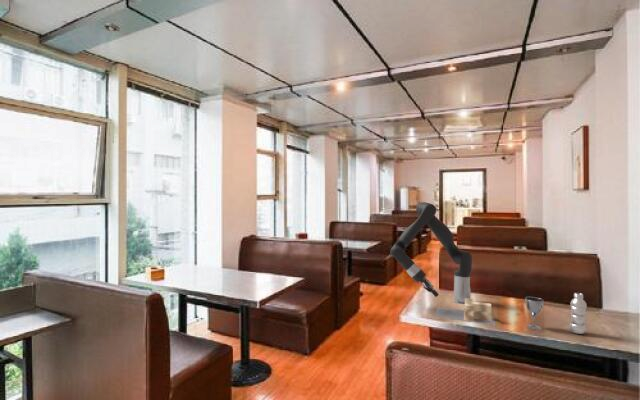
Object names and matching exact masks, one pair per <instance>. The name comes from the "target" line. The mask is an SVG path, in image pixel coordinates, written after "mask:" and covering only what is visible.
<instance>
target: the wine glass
mask: <svg viewBox="0 0 640 400" xmlns="http://www.w3.org/2000/svg"><path fill="white" fill-rule="evenodd" d="M524 301H525V307H526V310H527V311H528V312H529V314H530V315H531V317H532V324H526V325H525V327H526V328H527V329H529V330H534V331H541V330H542V327H540V326H538V325H536V323H535V322H536V317H537V316H538V315H539V314H541V312H542V310H543V308H544V299H542V298H540V297H536V296H535V297H534V296H526V297H525V299H524Z"/></svg>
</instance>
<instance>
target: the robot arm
mask: <svg viewBox="0 0 640 400" xmlns="http://www.w3.org/2000/svg"><path fill="white" fill-rule="evenodd" d="M415 210H416V213H417V215H418V218H417V219H416V220H415V221H414V222H413V223H411V224H410V225H409V226H408V227H406V228H405V229H404V230H403V231H402V233H401V234H400V236H399V238H398V240H397V241H395V242H394V244H393V246H392V247H391V248H390V252H389V254H390V255H391V257H393V258H394V259H395V260H396V261H397V262H398V263H399V265H400V266H401V267H402V268H403V269H404V270H405V271H406V273H407V274H408V275H409V276H410V277H411V279H412V280H413V281H414V282H415V283H416V284H418V283H421V285H422V287H423V289H425V291H427V292H429V293H431V294H432V295H433V296H434V297H435V298H437V297H438V296H439V292H438V291H436V289H435V288H434V285H433V284H432V282H431V281H430V280H429V279H428V278H425V277H426V275H427V273H425V272H424V271H423V269H422V268H421V267H420V266H419V265H418V264H417V263H416V262H414V261H413V260H412V258H411V257H410V256H408V254H407V253H406V252H405V251H406V248H407V247H408V246H409V245H410V244H411V242H412V241H413V240H414V238H415V237H416V235H417V234H418V233H420V231H421V230H422V229H423V228H424V227H425V226H426V225H427V226H428V227H429V229H430V230H431V232H432V234H433V235H434V236H435V237H436V239H437V240H438V241H439V243H440V244H441V245H442V247H444V249H445V250H446V252H447V253H448V256H449V257H450V259H451V260H452V262H453V263H455V264H456V265H459V269H455V270H454V272H453V273H454V275H453V277H454V278H453V303H456V304H459V305H465V298H468V299H471V294H472V293H471V287H470V286H471V285H470V284H471V283H470V282H471V280H470V279H471V273H472V267H473V256H472V253H470V252H469V251H466V250H461V249H460V248H458V246H457V245H456V243H455V239H454V237H455V236H454V234H453V232H452V231H451V229H450V228H449V227H448V226H447V225H446V224H445V223H444V222H442V220H440V219H439V218H438V216H436V213H437V207H436V205H434V204H433V203H429V202H426V201H425V202H424V201H422V202H419V203H417V205H416V207H415Z"/></svg>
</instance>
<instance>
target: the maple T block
mask: <svg viewBox="0 0 640 400" xmlns="http://www.w3.org/2000/svg"><path fill="white" fill-rule="evenodd" d="M464 311H465V320H469V321H473V318H476V319H483V320H490V321H491V314H492V304H491V303H488V302H487V303H486V302H480V301H474V300H473V298H470V299H468V298H465V304H464Z"/></svg>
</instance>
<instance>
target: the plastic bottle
mask: <svg viewBox="0 0 640 400" xmlns="http://www.w3.org/2000/svg"><path fill="white" fill-rule="evenodd" d="M586 310H587V302H586V301H585V300H584V293H581V292H574V293H573V298H572V299H571V300H570V312H571V314H570V315H571V316H570V323H569V326H568V327H569V331H571V332H572V334H573V333H574V334H577V335H584V334H585V333H586V331H587V328H586V322H585V321H586V319H585V318H586Z"/></svg>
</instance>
